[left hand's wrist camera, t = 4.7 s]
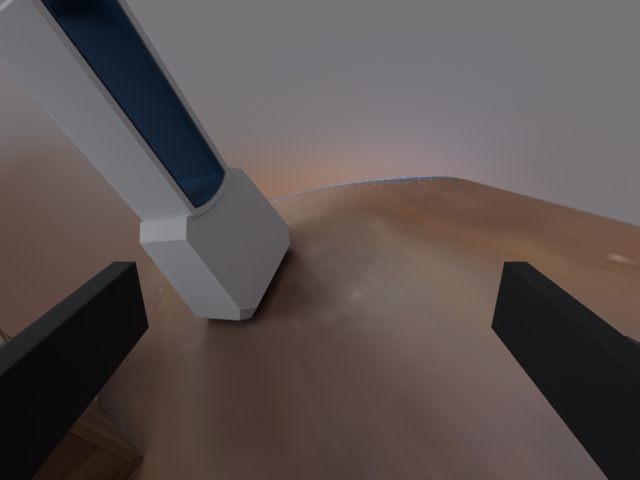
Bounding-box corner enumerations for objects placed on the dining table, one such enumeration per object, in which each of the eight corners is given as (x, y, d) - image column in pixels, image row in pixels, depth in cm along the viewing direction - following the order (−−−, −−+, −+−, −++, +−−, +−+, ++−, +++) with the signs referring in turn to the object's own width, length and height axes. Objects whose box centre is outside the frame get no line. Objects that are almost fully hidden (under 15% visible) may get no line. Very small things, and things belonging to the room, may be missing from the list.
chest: (-8, 460, 36) (-106, 422, 30) (75, 377, 40) (3, 332, 35) (36, 592, 25) (-106, 571, 19) (143, 457, 29) (54, 408, 24)
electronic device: (251, 244, 47) (76, -15, 29) (299, 241, 43) (133, -56, 26) (201, 324, 39) (-83, 32, 21) (255, 328, 35) (-32, -19, 17)
